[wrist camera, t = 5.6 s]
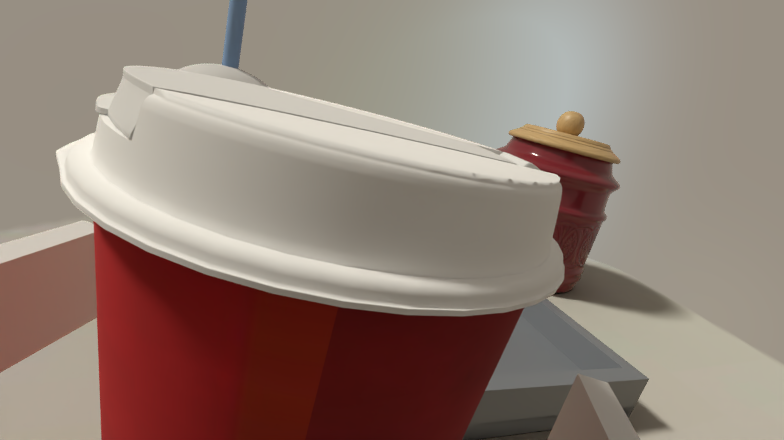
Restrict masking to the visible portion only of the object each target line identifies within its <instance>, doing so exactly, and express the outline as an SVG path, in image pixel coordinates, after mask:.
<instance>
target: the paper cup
mask: <svg viewBox="0 0 784 440" xmlns="http://www.w3.org/2000/svg"><path fill="white" fill-rule="evenodd" d="M95 111H96V112H99V113H100V114H99V118H98V123H97V128H96V132H95V133H92V134H89V135H88V136H86V137H84V138H82V139H80V140H78V141H75V142H71V143H70V144H68V145H66V146H64V147H62V148H60V149H58V150H57V151H56V158H57V162H58V166H59V170H60V181H61V187H62V189H63V190H64V191H65V193H66V195H67V196H68V197H69V199H70V200H71V202H72V203H73V204H74V206H75V207H77V208H78V209H79V210H80V211H82V212H83V213H84V214H85V215H87V216H88V217H89V218H91V219H92V220H93V221H94V247H95V274H96V301H97V327H98V354H99V381H100V409H101V436H102V440H462V439H463V437H464V434H465V432H466V430H467V428H468V426H469V424H470V422H471V420H472V418H473V415H474V413H475V411H476V409H477V407H478V405H479V403H480V401H481V398H482V396H483V394H484V392H485V390H486V388H487V386H488V384H489V381H490V379H491V377H492V375H493V373H494V371H495V369H496V367H497V364H498V362H499V360H500V358H501V356H502V354H503V352H504V350H505V348H506V345H507V343H508V341H509V339H510V337H511V335H512V333H513V331H514V328H515V326H516V324H517V322H518V320H519V318H520V316H521V314H522V311H523V309H524V308H525V307H528V306H532V305H536V304H538V303H539V302H541V301H543V300H545V299H546V298H548V297H550V296H552V295H553V294H555V292H556V291H557V289H558V288H559V286H560V285H561V284H562V282H563V280H564V270H565V266H564V264H563V253H562V251H561V249H560V247H559V245H558V243H557V242H556V241H555V240H554V239H553V233H554V229H555V225H556V220H557V215H558V211H559V206H560V202H561V196H562V185H561V183H560V177H559V176H558V175H556V174H553V173H549V172H544V171H541V170H540V169H539V168H538V167H536V166H535V165H534V164H532V163H530V162H528V161H525V160H523V159H520V158H518V157H516V156H513V155H511V154H509V153H506V152H502V151H499V150H496V149H493V148H490V147H487V146H484V145H481V144H478V143H475V142H472V141H469V140H465V139H462V138H459V137H455V136H452V135H449V134H446V133H442V132H439V131H436V130H432V129H429V128H425V127H421V126H418V125H415V124H411V123H407V122H404V121H400V120H396V119H393V118H389V117H386V116H382V115H378V114H374V113H370V112H367V111H363V110H359V109H355V108H351V107H348V106H344V105H339V104H336V103H332V102H328V101H324V100H319V99H315V98H311V97H307V96H302V95H298V94H294V93H290V92H285V91H281V90H277V89H272V88H268V87H263V86H259V85H255V84H250V83H246V82H241V81H236V80H231V79H226V78H220V77H215V76H210V75H205V74H199V73H194V72H188V71H182V70H174V69H167V68H159V67H150V66H125V67H124V69H123V78H122V80H121V83H120V85H119V87H118V89H117V91H116V93H110V94H103V95H100V96H99V97H98V98H97V101H96V110H95Z"/></svg>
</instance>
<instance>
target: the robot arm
mask: <svg viewBox="0 0 784 440" xmlns="http://www.w3.org/2000/svg"><path fill="white" fill-rule="evenodd" d="M95 318H97V301H96V274H95V247H94V223H90V222H87V221H84V220H83V221H79V222H76V223H72V224H69V225H65V226H62V227H58V228H55V229H51V230H48V231H44V232H41V233H37V234H34V235H30V236H27V237H24V238H20V239H17V240H13V241H10V242H6V243H3V244H0V372H2V371H4V370H6V369H7V368H9V367H11V366H13V365H14V364H16V363H18V362H20V361H21V360H23V359H25V358H27V357H28V356H30V355H32V354H34V353H35V352H37V351H39V350H41V349H42V348H44V347H46V346H48V345H49V344H51V343H53V342H55V341H56V340H58V339H60V338H62V337H63V336H65V335H67V334H69V333H70V332H72V331H74V330H76V329H77V328H79V327H81V326H83V325H85V324H86V323H88V322H90V321H92V320H93V319H95ZM547 440H640V438H639V436H638V435H637V433H636V431H635V429H634V428H633V426H632V424H631V422H630V421H629V419H628V417H627V415H626V413H625V412H624V410H623V408H622V406H621V405H620V403H619V401H618V399H617V398H616V396H615V394H614V392H613V391H612V389H611V387H610V385H609V384H608V383H607V382H604V381H601V380H597V379H594V378H591V377H588V376H585V375H581V374H577V376H576V378H575V380H574V383H573V385H572V387H571V389H570V391H569V393H568V396H567V398H566V400H565V402H564V404H563V406H562V408H561V411H560V413H559V415H558V417H557V419H556V421H555V424H554V426H553V428H552V430H551V432H550V434H549V436H548V439H547Z"/></svg>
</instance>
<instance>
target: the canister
mask: <svg viewBox="0 0 784 440" xmlns="http://www.w3.org/2000/svg"><path fill="white" fill-rule="evenodd" d="M556 127H557V131H555V130H551V129H547V128H543V127H539V126H535V125H530V124H526V125H524V126H523V127H520V128H517V129H514V130H511V131H509V134H510V135H512V136H513V138H512V139H511V140H510V142H509V143H508V144H507V145H506V146H504V147H501V148H498V149H496V150H499V151H502V152H506V153H509V154H511V155H513V156H516V157H518V158H520V159H523V160H525V161H528V162H530V163H532V164H534V165H535V166H536V167H538V168H539V169H540V170H541V171H544V172H549V173H553V174H556V175H558V176H559V177H560V183H561V185H562V196H561V202H560V206H559V211H558V215H557V220H556V225H555V229H554V233H553V239H554V240H555V241H556V242H557V243H558V245H559V247H560V249H561V251H562V253H563V264H564V266H565V270H564V280H563V282H562V284H561V285H560V286H559V288H558V289H557V291H556V292H555V293H562V292H568V291H570V290H572V289H573V287H574V286H575V284H576V283H577V282H578V281H579V280H580V278H581V274H582V273H583V271H584V264H585V262H586V259H587V257H588V255H589V252H590V250H591V248H592V245H593V243H594V241H595V238H596V236H597V234H598V231H599V229H600V227H601V224H602V222H603V221H605V220H606V214H605V213H604V210H605V207H606V203H607V201H608V198H609V195H610V194H611V193H612V192H614V191H616V190H618V189H619V187H620V185H619V184H618V182H617V181H616V180H615V179H614V177H613V175H612V164H613V163H616V164H619V163H620V160H619V158H618V157H617V156H616V155H615V154H614V153H613V152H612V151H611V148H610V146H609V145H607V144H604V143H600V142H596V141H593V140H590V139H586V138H582V137H578V135H579V134H580V133H581V132H582V130H583V128H584V118H583V116H582V115H581V114H579V113H577V112H573V111H569V112H565V113H564V114H562V115H561V116H560V118H559V119H558V121H557V126H556Z"/></svg>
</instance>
